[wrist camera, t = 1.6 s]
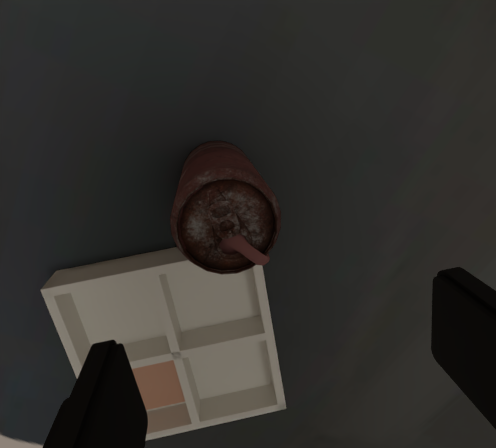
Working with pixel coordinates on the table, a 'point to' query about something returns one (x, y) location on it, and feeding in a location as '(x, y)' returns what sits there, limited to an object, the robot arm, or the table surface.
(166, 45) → the table surface
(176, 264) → the divided tray
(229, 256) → the can
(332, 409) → the table surface
